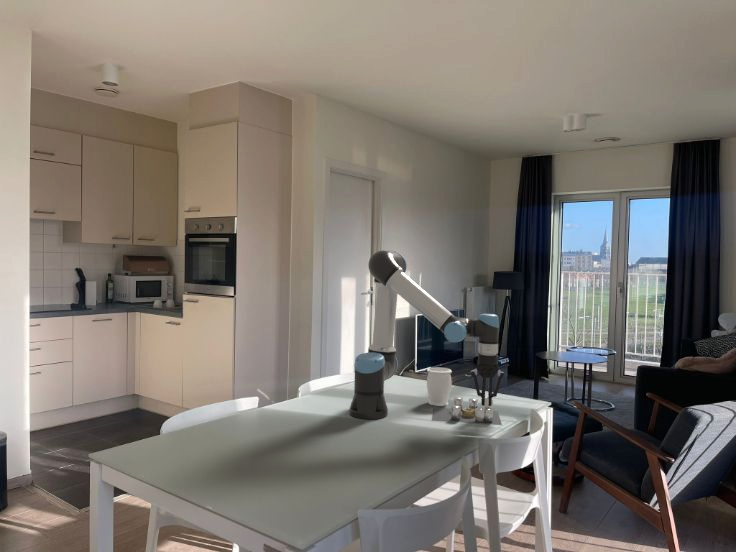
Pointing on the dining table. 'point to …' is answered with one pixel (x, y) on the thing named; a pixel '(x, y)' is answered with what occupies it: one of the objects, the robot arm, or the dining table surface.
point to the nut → (468, 412)
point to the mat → (445, 415)
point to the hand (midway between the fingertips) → (486, 413)
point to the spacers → (480, 413)
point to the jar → (439, 385)
